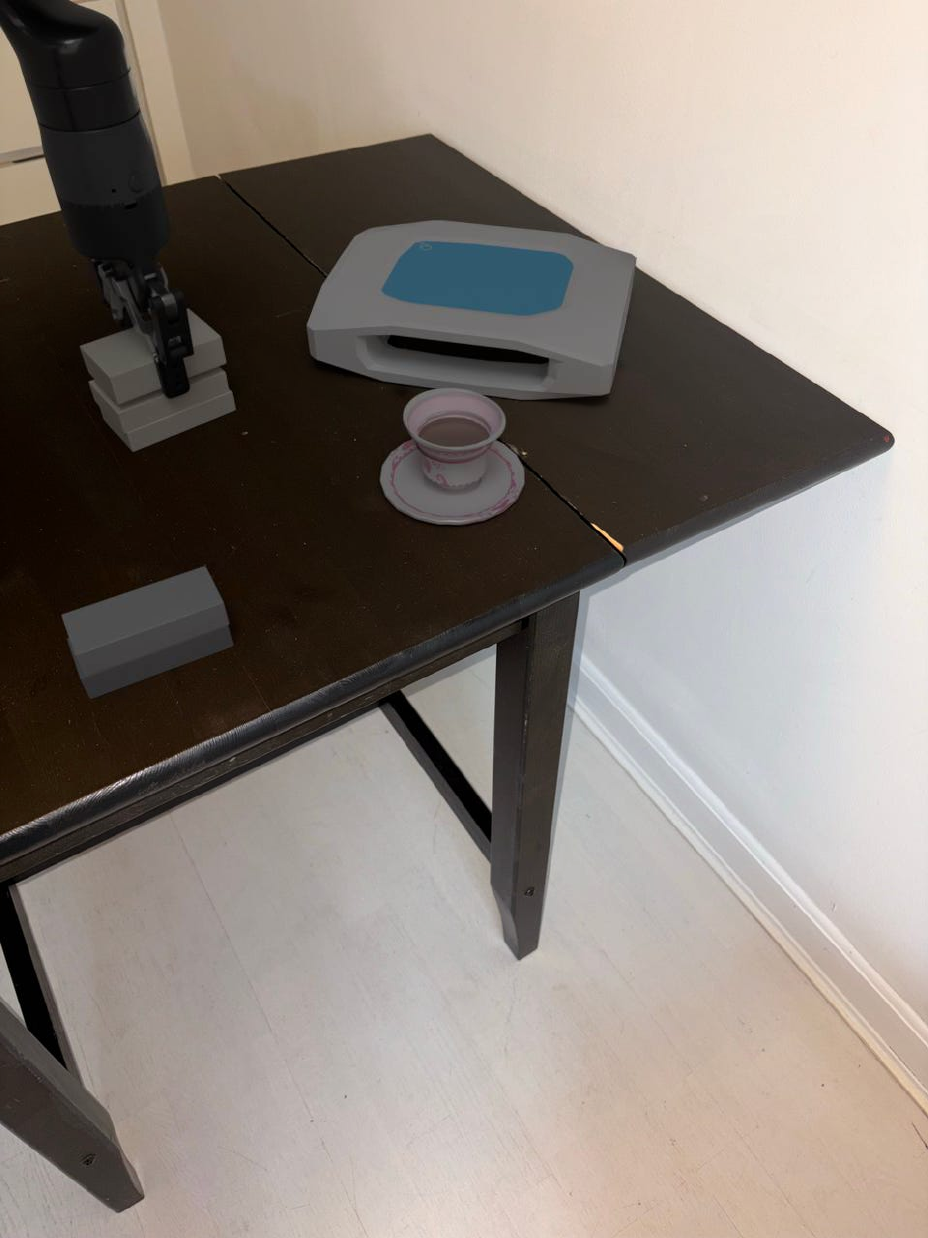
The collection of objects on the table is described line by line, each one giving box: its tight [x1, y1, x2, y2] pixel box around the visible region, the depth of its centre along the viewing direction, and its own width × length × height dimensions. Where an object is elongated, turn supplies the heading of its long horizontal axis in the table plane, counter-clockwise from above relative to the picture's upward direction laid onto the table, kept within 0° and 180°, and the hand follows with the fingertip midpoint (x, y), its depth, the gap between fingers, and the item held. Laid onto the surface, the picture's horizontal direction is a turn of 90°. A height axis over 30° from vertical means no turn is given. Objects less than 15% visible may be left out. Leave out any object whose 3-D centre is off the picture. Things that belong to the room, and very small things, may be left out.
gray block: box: [61, 565, 235, 700], centre depth 64 cm, size 10×4×4 cm, turn 118°
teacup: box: [379, 388, 525, 526], centre depth 77 cm, size 12×12×6 cm
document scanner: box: [306, 219, 638, 401], centre depth 92 cm, size 21×28×6 cm
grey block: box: [88, 366, 237, 453], centre depth 84 cm, size 10×6×4 cm, turn 128°
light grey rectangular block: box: [79, 308, 227, 405], centre depth 81 cm, size 10×6×3 cm, turn 128°
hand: (159, 376), depth 82 cm, fingers closed on light grey rectangular block, 6 cm apart
